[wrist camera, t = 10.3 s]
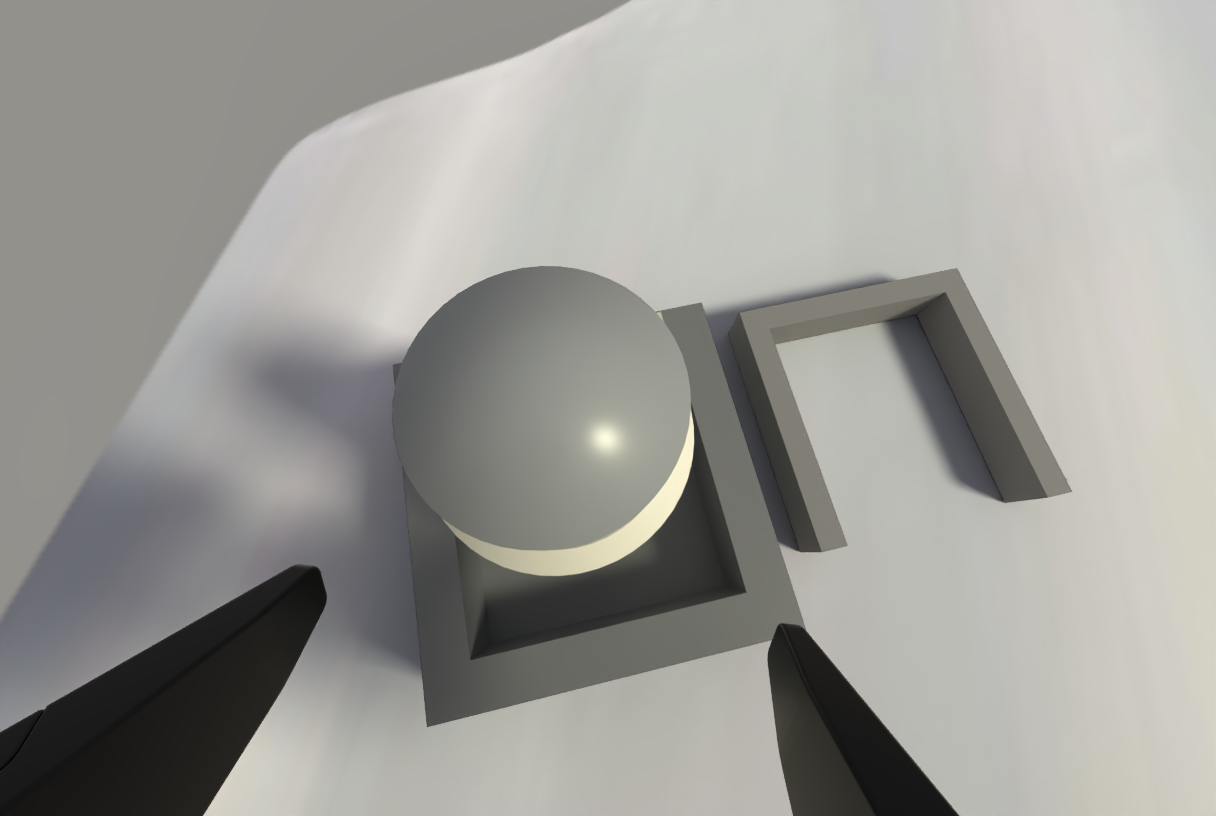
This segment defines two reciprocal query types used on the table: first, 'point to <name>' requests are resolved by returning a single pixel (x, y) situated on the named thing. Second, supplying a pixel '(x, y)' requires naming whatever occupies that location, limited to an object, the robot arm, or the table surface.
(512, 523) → the plug
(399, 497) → the table surface
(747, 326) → the grey u-shaped rail
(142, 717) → the robot arm
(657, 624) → the dock
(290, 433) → the table surface
